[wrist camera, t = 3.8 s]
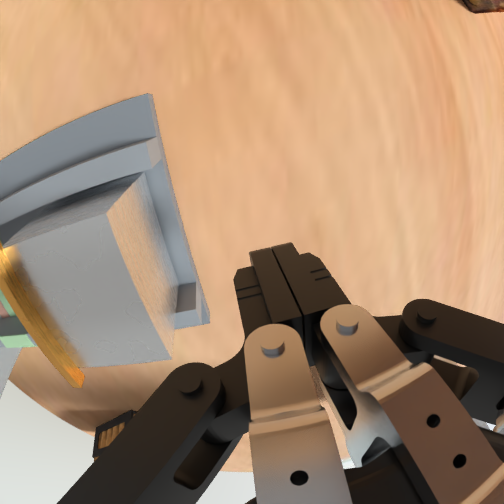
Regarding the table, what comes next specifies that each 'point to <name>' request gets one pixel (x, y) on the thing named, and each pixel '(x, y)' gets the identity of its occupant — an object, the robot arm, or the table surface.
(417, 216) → the table surface
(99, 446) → the ammunition clip
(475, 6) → the book
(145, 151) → the base
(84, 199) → the plunger
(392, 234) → the table surface
